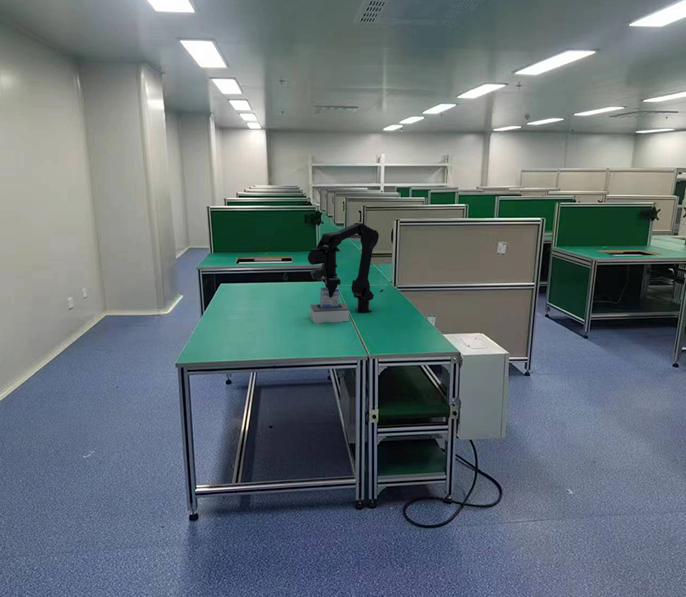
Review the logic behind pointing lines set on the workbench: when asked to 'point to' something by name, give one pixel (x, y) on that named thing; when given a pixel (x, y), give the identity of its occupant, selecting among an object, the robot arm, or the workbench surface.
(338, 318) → the open box
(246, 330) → the workbench surface
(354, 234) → the robot arm
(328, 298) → the medicine box
